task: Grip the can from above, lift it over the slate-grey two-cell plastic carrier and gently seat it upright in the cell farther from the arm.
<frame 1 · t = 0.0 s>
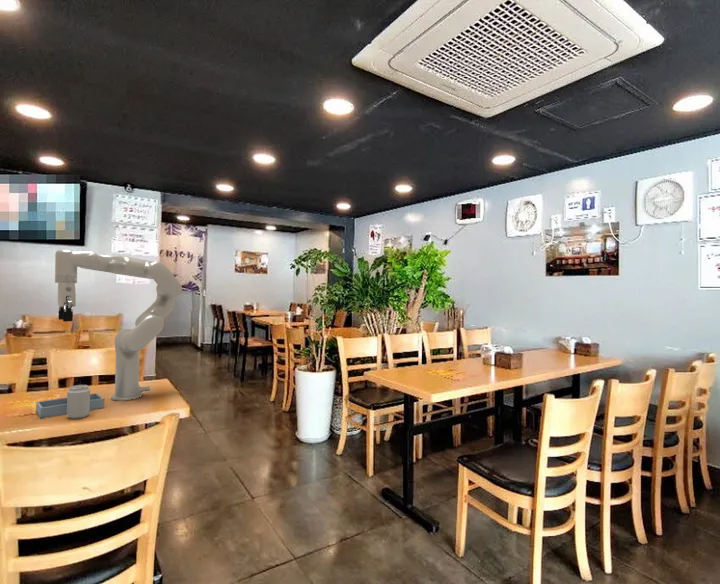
hand: (65, 320, 171), 37 cm above the table, tool pointing down, fingers open, 9 cm apart
can: (78, 416, 161), on the table
carrier: (70, 409, 169), on the table
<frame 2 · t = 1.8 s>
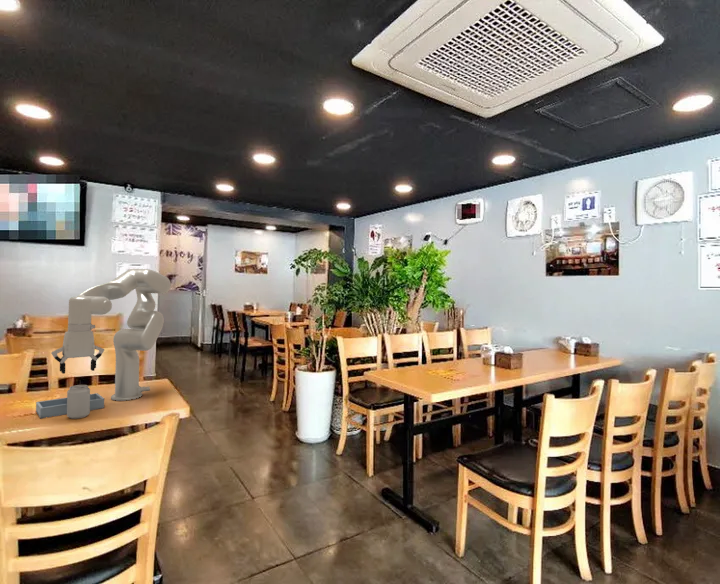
hand: (78, 371, 161), 18 cm above the table, tool pointing down, fingers open, 9 cm apart
nothing on the table moved.
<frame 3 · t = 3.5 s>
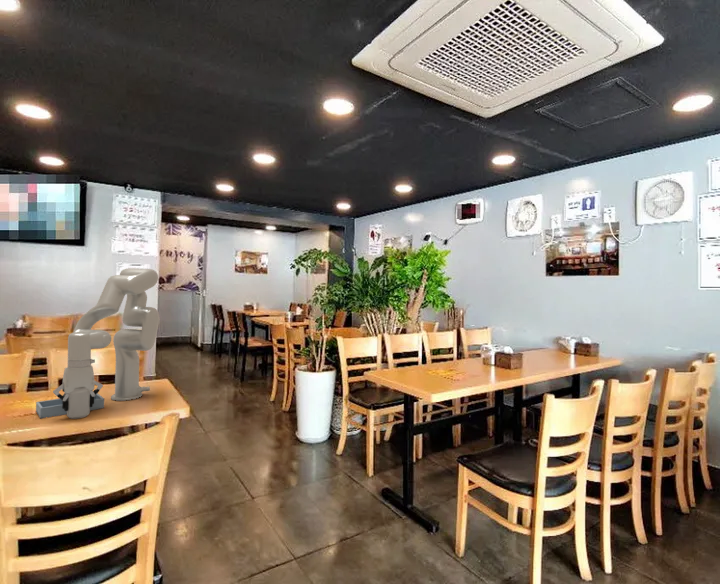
hand: (78, 407, 161), 3 cm above the table, tool pointing down, fingers closed on can, 7 cm apart
can: (78, 416, 161), on the table, touching gripper
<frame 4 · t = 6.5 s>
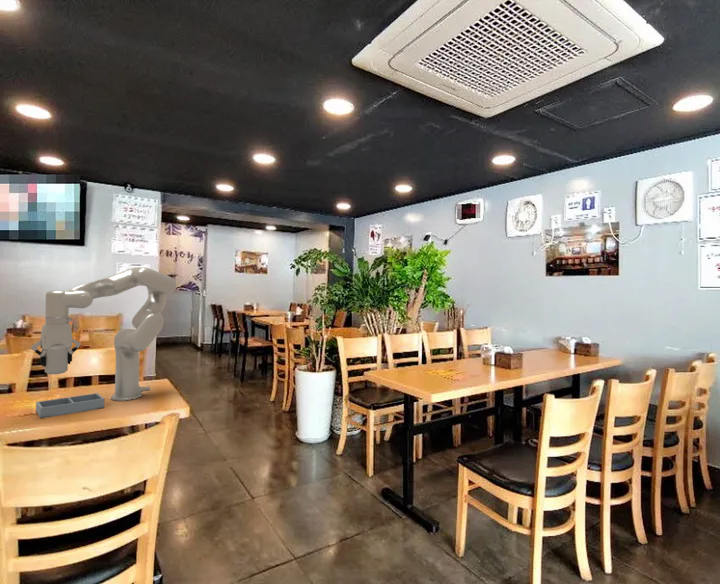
hand: (56, 364, 165), 19 cm above the table, tool pointing down, fingers closed on can, 7 cm apart
can: (56, 373, 165), point 16 cm above the table, touching gripper
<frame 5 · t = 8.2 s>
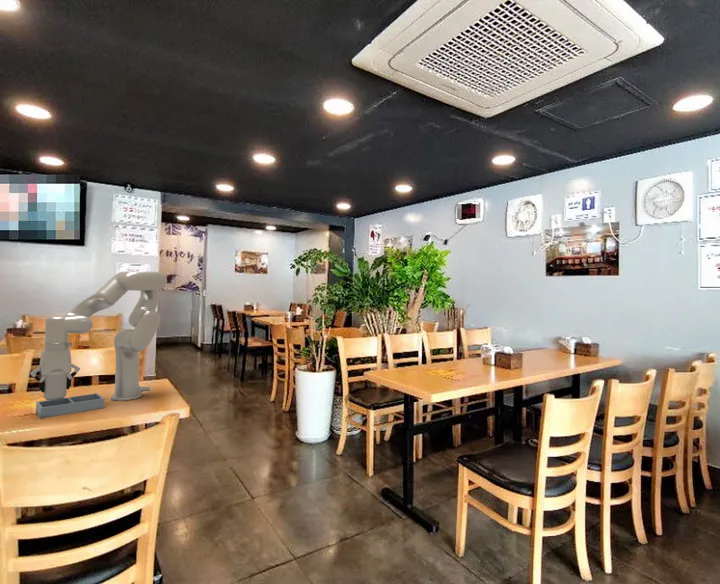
hand: (55, 389, 165), 9 cm above the table, tool pointing down, fingers closed on can, 7 cm apart
can: (55, 398, 165), point 6 cm above the table, touching gripper
when the fingers open (6 cm above the table, at t = 9.5 s): can drops 2 cm, resting on carrier.
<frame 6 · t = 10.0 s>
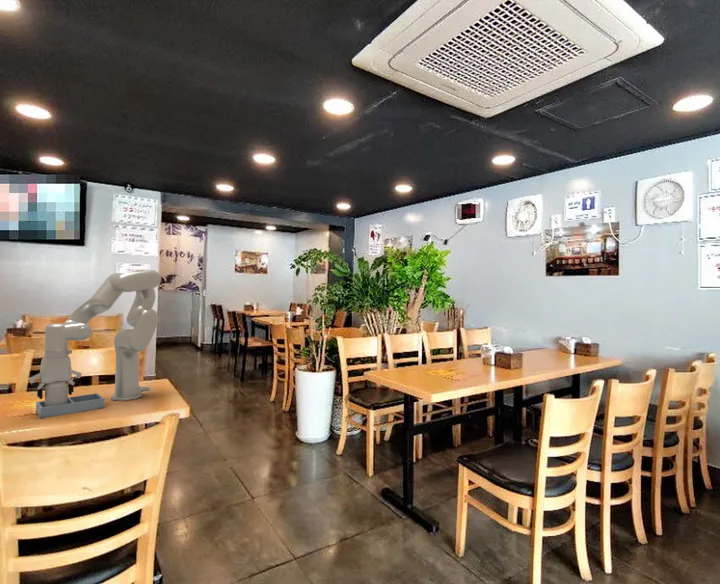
hand: (55, 396, 165), 7 cm above the table, tool pointing down, fingers open, 9 cm apart
can: (56, 410, 166), point 1 cm above the table, touching carrier
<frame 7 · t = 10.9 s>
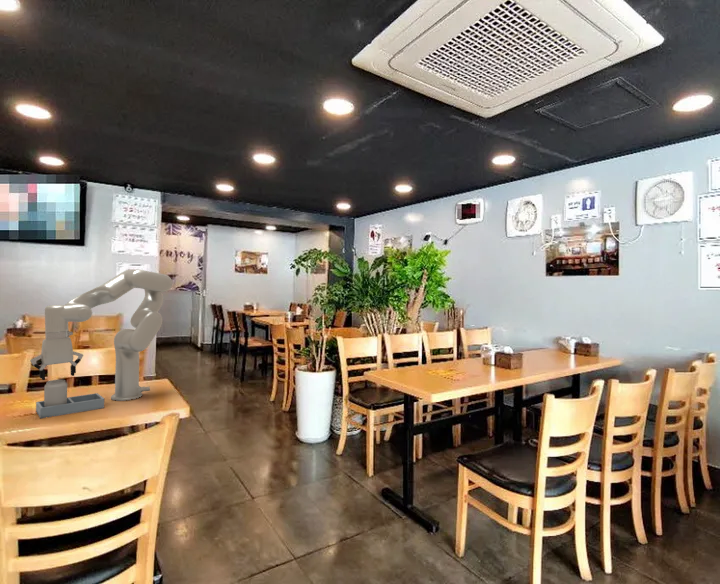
hand: (58, 377, 166), 14 cm above the table, tool pointing down, fingers open, 9 cm apart
nothing on the table moved.
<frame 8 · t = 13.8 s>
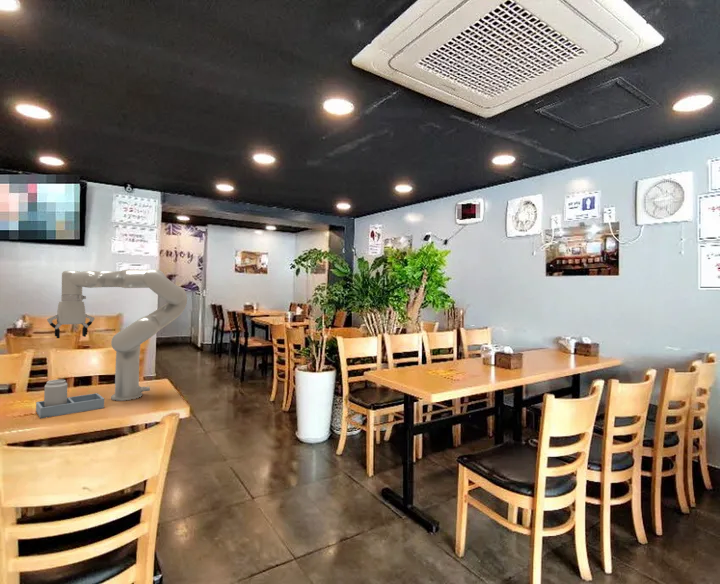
hand: (71, 337, 181), 28 cm above the table, tool pointing down, fingers open, 9 cm apart
nothing on the table moved.
at the end: can 0.1 cm from the target spot on the carrier, point 0.6 cm above the carrier's base; can tilted 0°; the gripper is holding nothing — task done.
